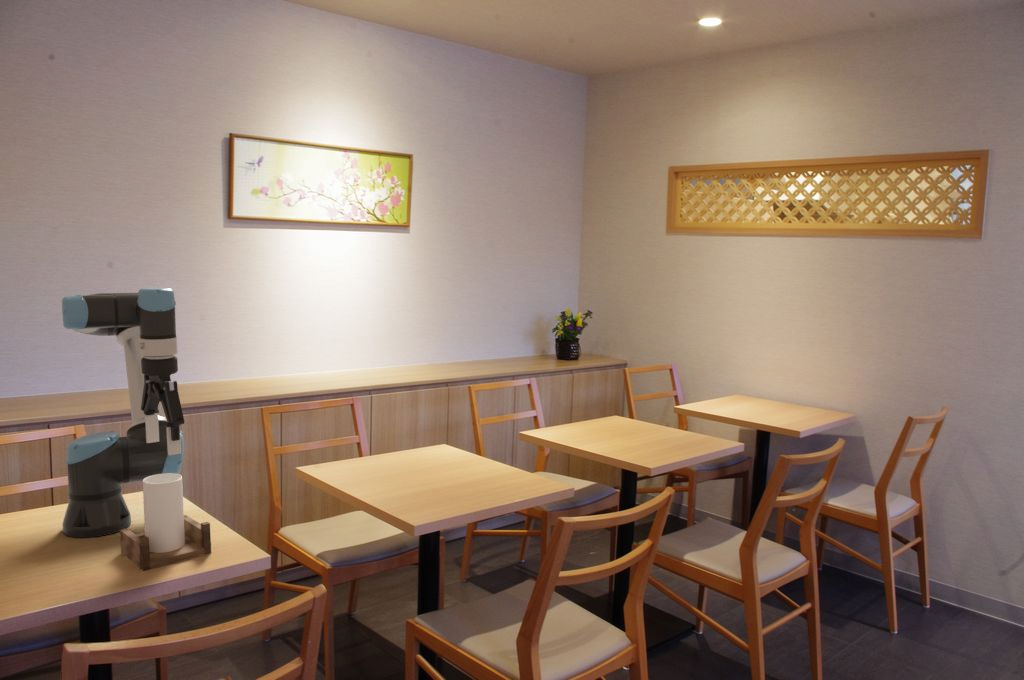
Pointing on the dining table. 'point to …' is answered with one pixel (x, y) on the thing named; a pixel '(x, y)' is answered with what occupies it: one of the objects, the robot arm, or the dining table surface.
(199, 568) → the dining table surface
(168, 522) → the cup
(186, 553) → the tray
